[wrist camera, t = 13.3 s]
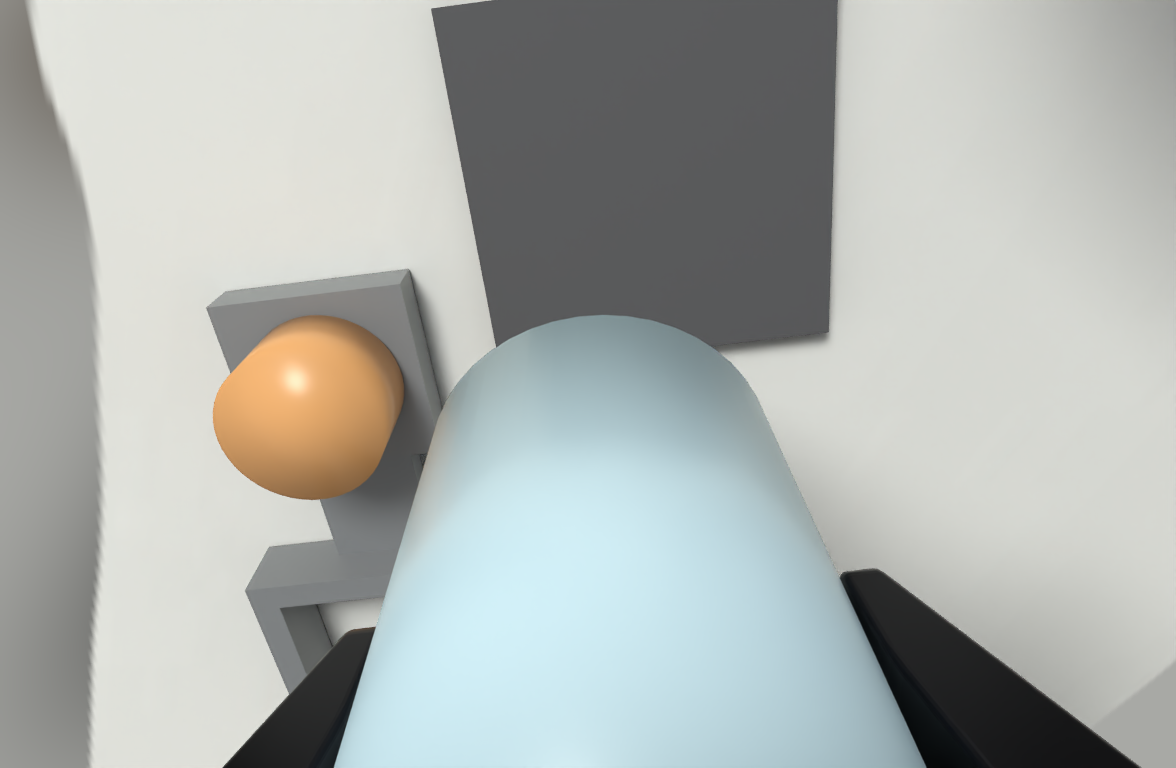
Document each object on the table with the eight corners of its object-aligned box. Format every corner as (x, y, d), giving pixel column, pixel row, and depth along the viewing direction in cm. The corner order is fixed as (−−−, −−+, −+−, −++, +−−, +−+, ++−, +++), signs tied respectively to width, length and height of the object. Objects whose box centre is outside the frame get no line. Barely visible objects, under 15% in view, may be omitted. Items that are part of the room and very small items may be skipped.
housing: (581, 839, 31) (581, 890, 29) (391, 857, 32) (380, 908, 30) (464, 262, 20) (454, 287, 18) (171, 298, 20) (132, 326, 18)
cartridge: (774, 578, 12) (1115, 1565, 5) (469, 614, 12) (315, 1611, 5) (767, 291, 10) (1441, 1327, 2) (392, 341, 10) (-147, 1445, 2)
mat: (822, 323, 21) (828, 332, 20) (502, 361, 21) (500, 370, 21) (830, -46, 17) (839, -47, 16) (435, 8, 17) (431, 8, 17)
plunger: (426, 419, 22) (401, 490, 19) (292, 434, 22) (245, 507, 19) (393, 290, 20) (360, 344, 17) (248, 307, 20) (187, 365, 17)
